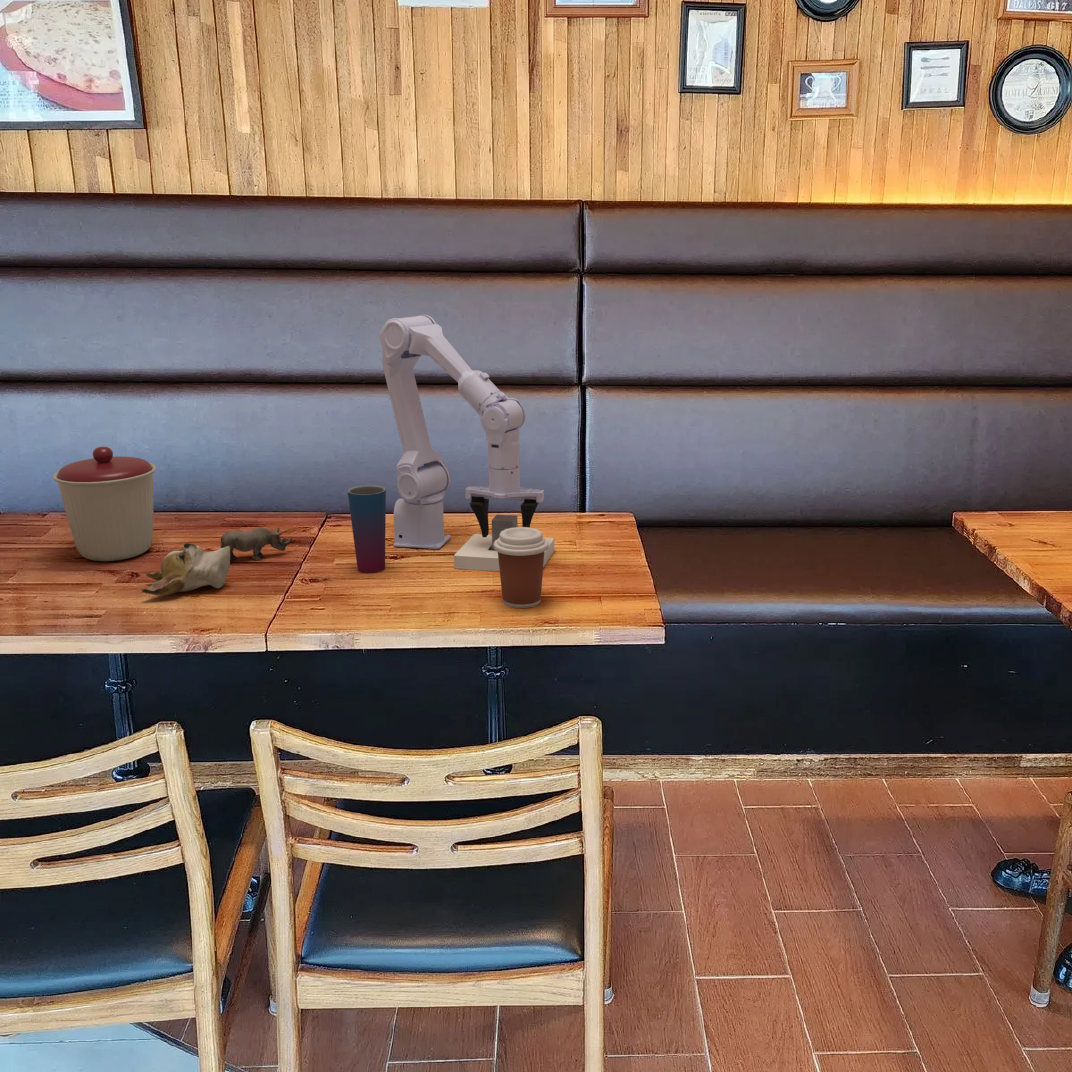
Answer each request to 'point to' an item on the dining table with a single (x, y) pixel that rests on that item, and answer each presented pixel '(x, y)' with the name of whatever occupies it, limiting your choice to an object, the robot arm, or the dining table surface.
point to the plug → (502, 525)
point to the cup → (368, 526)
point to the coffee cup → (521, 565)
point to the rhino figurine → (253, 541)
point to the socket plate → (485, 554)
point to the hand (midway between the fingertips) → (505, 537)
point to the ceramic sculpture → (190, 570)
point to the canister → (108, 505)
